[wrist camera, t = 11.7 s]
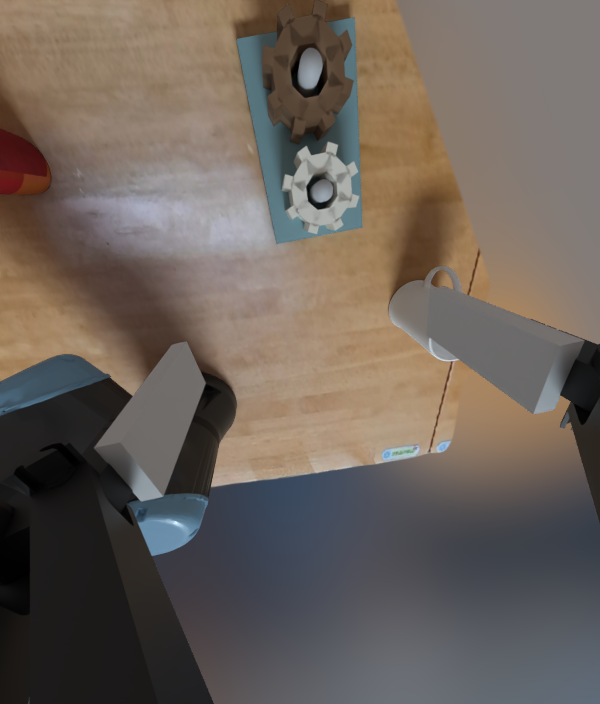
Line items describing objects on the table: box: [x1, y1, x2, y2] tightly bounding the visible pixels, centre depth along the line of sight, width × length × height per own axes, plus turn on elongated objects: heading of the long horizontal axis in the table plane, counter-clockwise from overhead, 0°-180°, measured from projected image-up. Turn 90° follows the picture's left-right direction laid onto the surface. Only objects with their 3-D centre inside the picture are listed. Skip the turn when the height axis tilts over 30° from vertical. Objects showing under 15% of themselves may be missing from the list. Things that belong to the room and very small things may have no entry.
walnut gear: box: [262, 0, 354, 145], centre depth 25 cm, size 8×8×5 cm
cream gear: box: [281, 142, 359, 234], centre depth 29 cm, size 8×8×5 cm
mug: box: [389, 266, 462, 361], centre depth 36 cm, size 12×8×12 cm
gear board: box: [236, 17, 362, 244], centre depth 27 cm, size 12×19×8 cm, turn 9°
